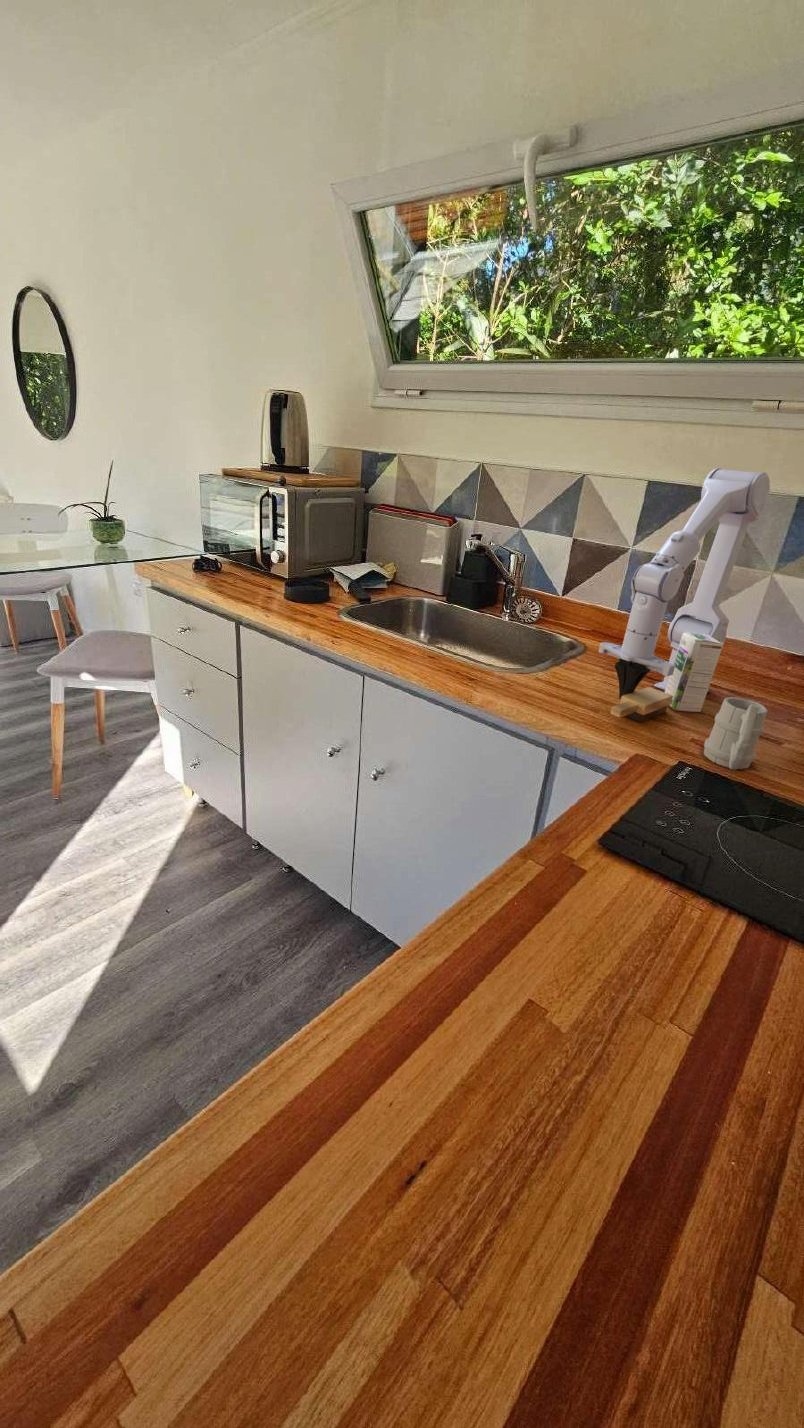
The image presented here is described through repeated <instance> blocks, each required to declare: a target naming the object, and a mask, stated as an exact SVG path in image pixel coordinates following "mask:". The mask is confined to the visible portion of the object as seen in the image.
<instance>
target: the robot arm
mask: <svg viewBox="0 0 804 1428" xmlns="http://www.w3.org/2000/svg"><path fill="white" fill-rule="evenodd" d="M770 491H771V481H770V477H769V474H768V473H767V472H765V471H760V472H756V471H747V470H746V471H744V470H734V469H724V468H723V469H722V468H719V467H716V468H713V469H712V470H711V471H709V473H708V474H707V476H706V477H705V479H704V482H703V484H702V487H701V494H700V502H699V503H698V505H697V506H696V507H695V509H694V511H693V513H692V514H691V516H690V517H689V518H688V520H687V522H686V524H685V525H684V527H683V528H682V530H678V531H675V532H672V533H671V534H670V536H669V537H668V538H667V540H666V541H665V542H664V543H663V545H662V546H661V548H659V550H658V551H657V553H656V554H655V555H654V557H653V558H652V559H651V560H650V561H649V562H647V563H645V564H642V565H640V566H639V567H638V568H637V569H636V571H635V572H634V574H633V577H632V578H631V581H630V588H631V596H630V603H632V604H631V605H632V606H631V609H630V613H629V617H628V622H627V624H626V629H625V633H624V637H623V641H622V645H620V644H615V643H612V642H608V641H604V642H600V644H599V647H598V653H599V654H602V655H604V654H605V655H608V656H611V657H614V658H616V659H618V661H616V662H615V663H614V668H615V672H616V675H617V679H618V693H619V694H618V695H619V696H618V698H619V700H621V697H622V696H623V695H626V694H629V693H632V692H635V691H636V688H637V687H638V686H639V684H640V683H641V682H642V680H643V679H644V678H645V677H646V676H647V675H648V674H649V673H650V672H651V671H655V672H656V673H660V674H661V675H662V676H664V677H663V681H659V682H656V683H654V685H653V687H655V688H658V689H660V690H663V691H665V690H666V686H667V683H668V680H669V677H670V676H671V675H673V672H674V669H675V665H674V661H675V657H676V654H677V651H678V648H679V645H680V641H681V638H682V635H683V633H700V634H705V635H710V636H711V637H712V638H714V639H716V640H717V641H719V642H721V643H723V645H724V644H725V642H726V639H727V631H728V627H729V625H730V624H729V622H730V620H729V618H728V616H727V615H726V613H724V611H723V610H722V608H721V607H720V605H721V602H722V600H723V597H724V594H725V591H726V589H727V586H728V583H729V580H730V577H731V575H732V572H733V569H734V566H735V564H736V561H737V558H738V556H739V553H740V550H741V547H742V544H743V542H744V539H745V536H746V534H747V531H748V529H749V526H750V523H753V522H755V521H758V520H759V519H760V516H761V514H762V513H763V510H764V508H765V505H766V502H767V500H768V497H769V494H770ZM717 522H718V523H719V526H718V527H717V528H718V529H717V531H716V534H715V537H714V540H713V542H712V545H711V548H710V551H709V554H708V556H707V560H706V563H705V565H704V568H703V572H702V574H701V577H700V580H699V583H698V586H697V589H696V591H695V593H694V597H693V600H692V602H690V603H687V604H685V605H683V606H681V607H679V608H678V609H677V611H676V614H675V615H674V618H673V619H672V621H671V622H670V624H669V626H668V630H667V639H668V642H669V643H670V645H669V647H670V648H672V649H671V653H670V657H669V659H668V661H667V660H665V659H662V658H660V657H659V656H657V655H654V654H655V651H656V646H657V642H658V639H659V636H660V632H661V628H662V625H663V621H664V617H665V614H666V611H667V607H668V604H669V601H671V600H672V599H673V598H674V597H675V596H676V595H677V593H678V591H679V589H680V587H681V583H682V581H683V579H684V577H685V574H684V572H685V571H686V570H687V569H688V567H689V566H690V564H691V563H692V562H693V560H694V559H695V558H696V556H697V555H698V554H699V553H700V551H701V543H700V541H701V540H702V539H703V538H704V536H706V534H707V533H708V532H709V531H710V530H711V529H712V528H713V526H715V524H716V523H717ZM709 691H710V688H709V689H708V692H709Z"/></svg>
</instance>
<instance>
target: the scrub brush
mask: <svg viewBox="0 0 804 1428" xmlns="http://www.w3.org/2000/svg"><path fill="white" fill-rule="evenodd" d="M672 697H673V696H672V695H669V694H667V693H665V691H661V690H659V689H655V688H654V687H650V686H647V687H644V688H642V689H638V690H634V692H632V693H629V694H626V695H623V696H622V697H621V699H620V701H619V704H616V705H612V706H611V708H610V712H609V714H610V715H612V716H615V717H617V718H622V717H627V718H629V719H631V720H634V721H637V722H639V723H642V722H644V721H647V720H650V719H652V718H655V717H657V716H659V715H663V714H665V713H666V712H667V708H668V706H669V705H670V703H671V700H672ZM669 707H670V706H669Z"/></svg>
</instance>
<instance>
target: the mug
mask: <svg viewBox="0 0 804 1428" xmlns="http://www.w3.org/2000/svg"><path fill="white" fill-rule="evenodd" d="M767 714H768V709H767V708H766V706H765V705H763V704H761V703H759V702H757V701H755V700H751V699H746V698H741V697H739V696H737V697H736V696H735V697H734V696H729V697H725V698H724V699H723V701H722V704H721V705H720V709H719V711H718V712H717V713H716V714H715V717H714V724H713V727H712V729H711V731H710V734H709V737H708V738H706V739H705V740H704V744H703V747H704V749H703V755H704V757H706V758H707V759H708V760H709V761H711V762H712V763H715V764H717V765H719V766H722V767H724V768H729V769H730V770H737V769H738V770H743V769H748V768H750V766H751V764H752V762H754V761H755V760H756V757H757V756H756V755H757V753H756V748H757V745H758V741H759V739H760V736H761V735H763V732H764V729H765V725H764V724H765V721H766V718H767Z"/></svg>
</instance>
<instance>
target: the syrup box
mask: <svg viewBox="0 0 804 1428" xmlns="http://www.w3.org/2000/svg"><path fill="white" fill-rule="evenodd" d="M723 647H724V644H723V643H721V642H719V641H717V640H716V639H714V638H712V637H711V636H710V635H705V634H700V633H683V635H682V638H681V641H680V645H679V648H678V651H677V654H676V657H675V661H674V665H675V669H674V672H673V675H671V676H670V677H669V680H668V683H667V686H666V690H664V693H667V694H669V695H672V696H673V697H672V700H671V703H670V705H669V707H670V708H671V709H672V710H673V711H677V712H679V711H681V712H691V713H692V712H693V713H701V712H702V709H703V706H704V703H705V700H706V697H707V694H708V692H709V691H708V689H709V690H710V685H711V683H712V679H713V677H714V673H715V670H716V669H717V665H718V661H719V659H720V656H721V652H722V650H723Z"/></svg>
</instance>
